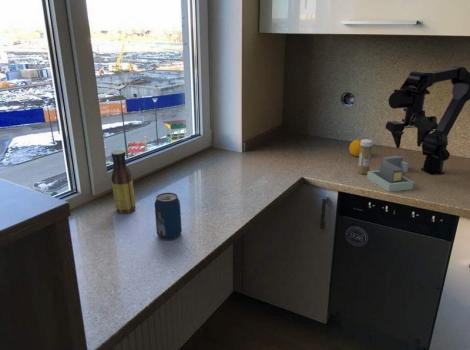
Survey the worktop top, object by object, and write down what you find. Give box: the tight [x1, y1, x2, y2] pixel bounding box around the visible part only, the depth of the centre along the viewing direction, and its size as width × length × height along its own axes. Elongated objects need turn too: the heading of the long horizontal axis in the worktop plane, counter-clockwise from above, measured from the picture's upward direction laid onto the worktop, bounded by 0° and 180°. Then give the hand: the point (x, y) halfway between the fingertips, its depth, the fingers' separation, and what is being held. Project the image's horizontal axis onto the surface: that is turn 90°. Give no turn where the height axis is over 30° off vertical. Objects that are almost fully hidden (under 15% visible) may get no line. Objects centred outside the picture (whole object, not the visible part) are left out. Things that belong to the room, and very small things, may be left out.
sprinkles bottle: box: [357, 138, 374, 175], centre depth 159 cm, size 5×5×14 cm
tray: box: [366, 169, 415, 193], centre depth 149 cm, size 10×14×3 cm
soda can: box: [154, 192, 182, 241], centre depth 111 cm, size 7×7×12 cm
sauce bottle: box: [110, 149, 136, 215], centre depth 125 cm, size 6×6×20 cm
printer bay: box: [382, 155, 409, 173], centre depth 163 cm, size 7×6×5 cm
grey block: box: [379, 162, 404, 183], centre depth 148 cm, size 4×8×6 cm, turn 13°
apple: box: [348, 139, 362, 157], centre depth 181 cm, size 8×8×8 cm
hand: (408, 147), depth 152 cm, fingers open, 9 cm apart
